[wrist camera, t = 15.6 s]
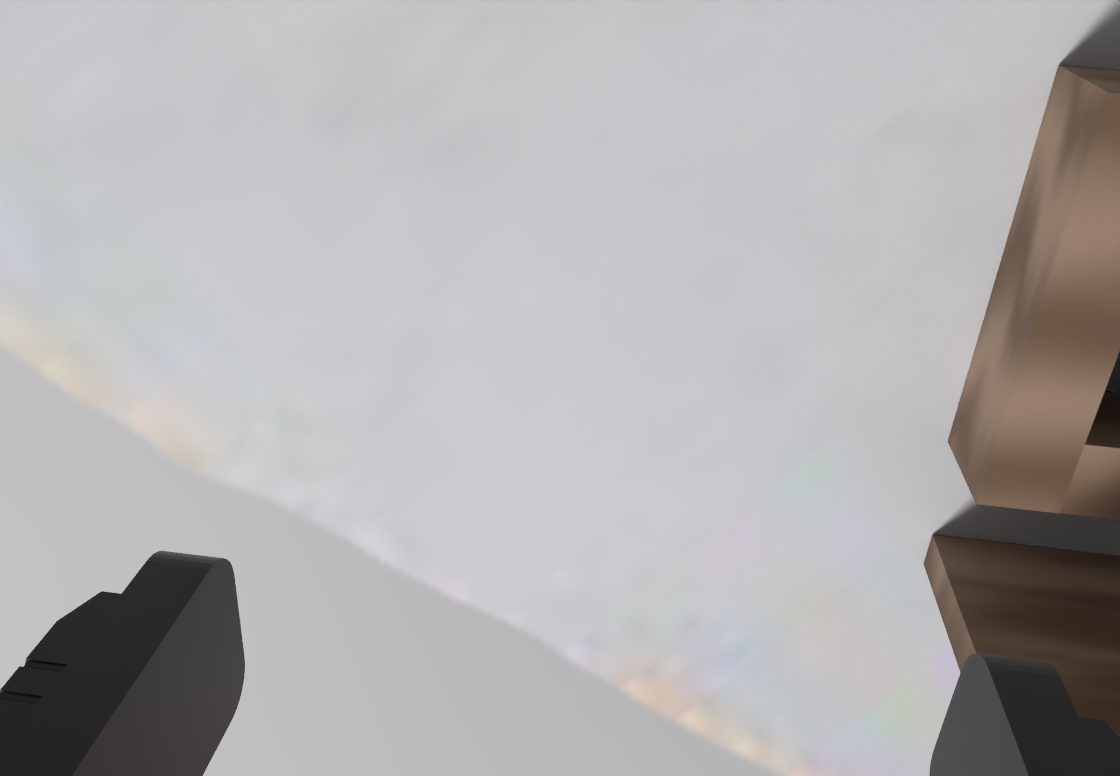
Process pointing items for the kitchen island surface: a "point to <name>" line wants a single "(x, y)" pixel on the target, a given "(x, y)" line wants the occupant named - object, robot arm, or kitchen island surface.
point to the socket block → (1054, 322)
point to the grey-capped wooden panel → (1035, 612)
